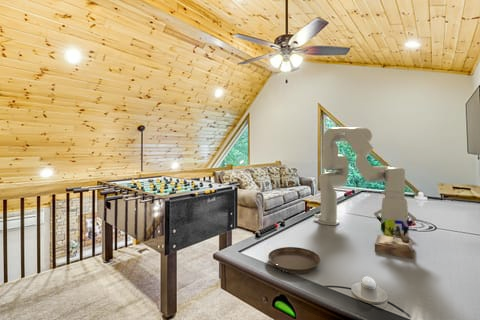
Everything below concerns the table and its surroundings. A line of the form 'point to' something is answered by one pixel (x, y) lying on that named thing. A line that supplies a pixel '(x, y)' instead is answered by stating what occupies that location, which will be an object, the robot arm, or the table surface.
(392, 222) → the puzzle toy
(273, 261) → the plant saucer
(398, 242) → the walnut tray
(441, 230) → the table surface
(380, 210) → the robot arm
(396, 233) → the eagle figurine
